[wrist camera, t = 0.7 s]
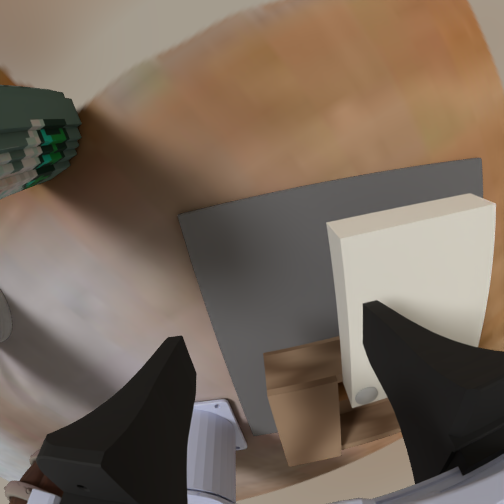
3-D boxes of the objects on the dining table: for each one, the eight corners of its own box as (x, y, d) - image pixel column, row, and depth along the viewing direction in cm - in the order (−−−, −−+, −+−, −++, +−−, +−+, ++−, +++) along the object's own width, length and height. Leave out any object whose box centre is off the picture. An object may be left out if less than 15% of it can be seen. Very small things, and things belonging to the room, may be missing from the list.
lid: (457, 344, 19) (474, 365, 17) (342, 382, 19) (352, 409, 17) (469, 193, 15) (497, 204, 13) (326, 222, 15) (341, 239, 13)
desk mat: (253, 433, 28) (253, 436, 27) (178, 214, 20) (177, 215, 19) (458, 375, 27) (459, 377, 26) (478, 157, 19) (481, 158, 18)
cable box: (283, 428, 27) (288, 466, 23) (263, 353, 24) (267, 396, 19) (441, 382, 26) (460, 412, 22) (455, 300, 23) (485, 330, 18)
